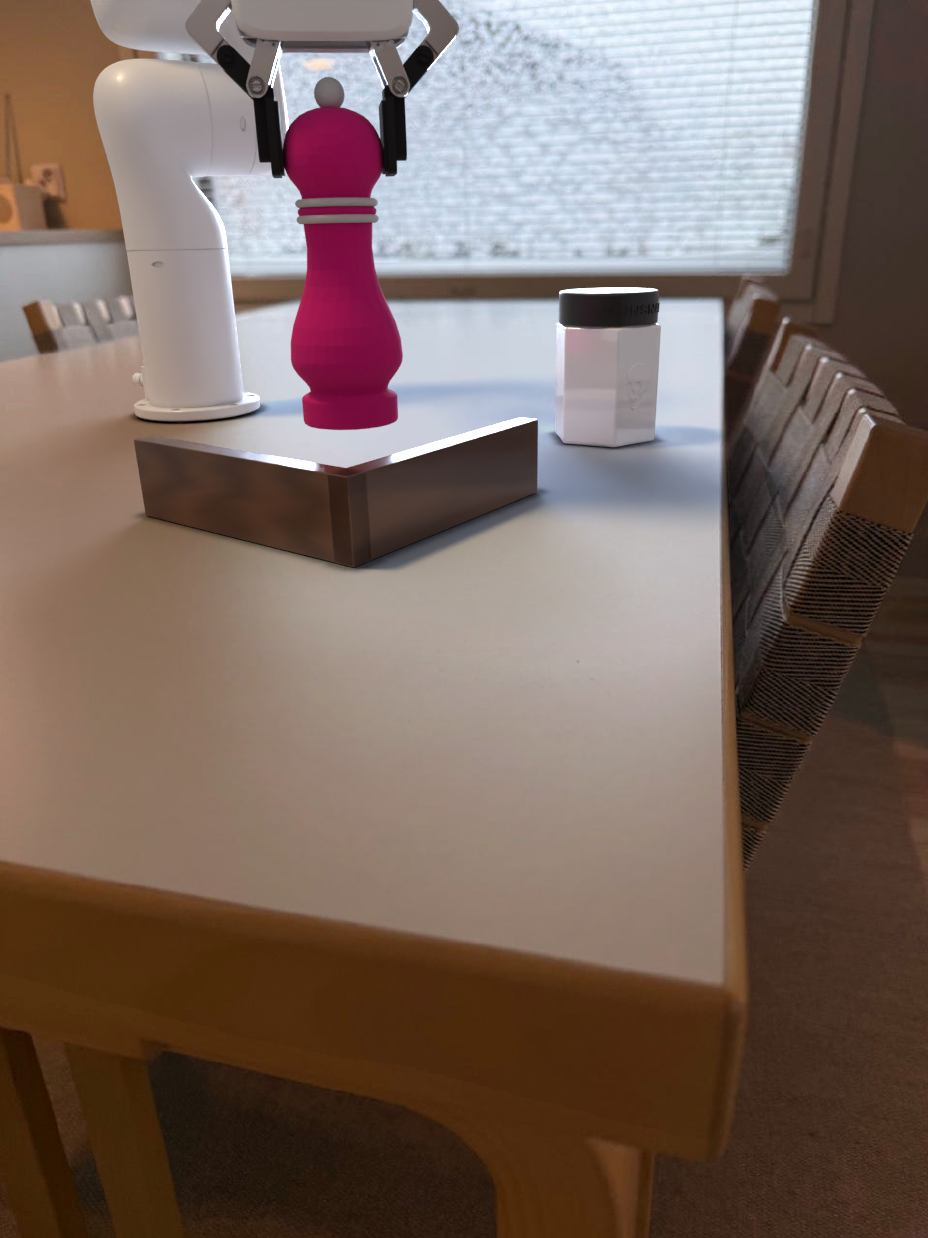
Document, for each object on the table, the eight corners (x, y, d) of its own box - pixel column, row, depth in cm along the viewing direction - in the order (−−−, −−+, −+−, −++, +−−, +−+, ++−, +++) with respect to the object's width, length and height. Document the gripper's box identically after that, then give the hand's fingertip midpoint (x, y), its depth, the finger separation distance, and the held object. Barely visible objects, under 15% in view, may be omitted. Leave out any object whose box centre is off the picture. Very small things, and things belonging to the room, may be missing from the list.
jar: (595, 452, 74) (600, 294, 70) (533, 436, 81) (535, 291, 76) (675, 437, 79) (685, 288, 74) (611, 423, 85) (616, 286, 81)
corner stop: (145, 515, 60) (132, 439, 58) (341, 460, 74) (337, 396, 72) (353, 567, 50) (347, 476, 48) (537, 492, 63) (538, 419, 62)
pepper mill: (424, 415, 63) (411, 79, 55) (371, 435, 57) (348, 61, 49) (334, 409, 66) (310, 89, 58) (274, 428, 60) (239, 73, 52)
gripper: (459, -168, 53) (466, 177, 60) (152, -177, 51) (195, 181, 58) (481, -227, 46) (485, 169, 53) (126, -242, 44) (179, 174, 51)
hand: (334, 172), depth 56 cm, fingers closed on pepper mill, 6 cm apart
